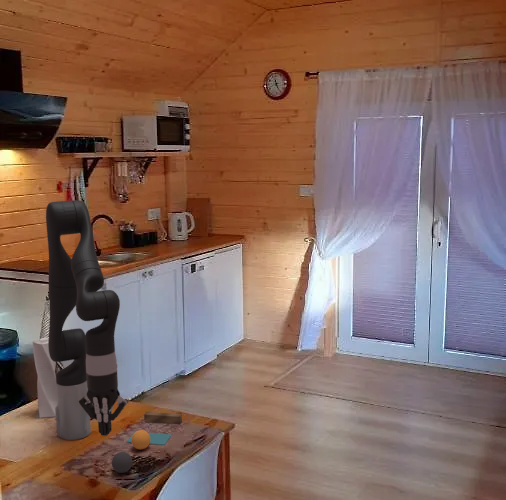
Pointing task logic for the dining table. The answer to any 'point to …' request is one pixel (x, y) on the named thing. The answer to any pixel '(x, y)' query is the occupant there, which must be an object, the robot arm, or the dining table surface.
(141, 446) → the orange ball
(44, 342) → the skyscraper
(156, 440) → the teal mark
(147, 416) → the walnut strip
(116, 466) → the gray ball
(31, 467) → the dining table surface
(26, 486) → the dining table surface
